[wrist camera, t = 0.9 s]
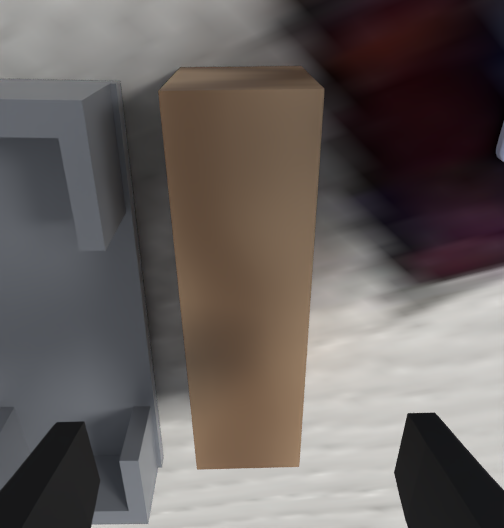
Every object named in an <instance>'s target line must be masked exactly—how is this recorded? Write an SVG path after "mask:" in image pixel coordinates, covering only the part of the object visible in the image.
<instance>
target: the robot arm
mask: <svg viewBox="0 0 504 528" xmlns="http://www.w3.org/2000/svg"><path fill="white" fill-rule="evenodd" d="M496 155H497V157H498V158H499V159H500V160H501V161H503V162H504V122H503V126H502V129H501V133H500V136H499V140H498V143H497V147H496ZM394 474H395V478H396V482H397V487H398V491H399V495H400V500H401V504H402V508H403V512H404V516H405V520H406V523H407V526H408V528H504V490H503V489H502V488H501V487H500V486H499V485H498V483H497V482H496V481H495V480H494V479H493V478H492V477H491V476H490V475H489V474H488V472H487V471H486V470H485V469H484V468H483V467H482V466H481V465H480V464H479V462H478V461H477V460H476V459H475V458H474V457H473V456H472V454H471V453H470V452H469V451H468V450H467V449H466V448H465V447H464V445H463V444H462V443H461V442H460V441H459V440H458V438H457V437H456V436H455V435H454V434H453V433H452V431H451V430H450V429H449V428H448V427H447V426H446V425H445V423H444V422H443V421H442V420H441V419H440V418H439V416H438V415H436V414H435V413H408V414H407V418H406V423H405V427H404V432H403V436H402V440H401V445H400V449H399V454H398V458H397V462H396V467H395V471H394ZM99 485H100V477H99V473H98V470H97V466H96V462H95V459H94V455H93V451H92V448H91V444H90V440H89V436H88V433H87V429H86V425H85V422H84V421H79V422H56V423H55V424H54V425H53V426H52V428H51V429H50V430H49V431H48V432H47V434H46V435H45V436H44V437H43V439H42V440H41V441H40V442H39V444H38V445H37V446H36V447H35V449H34V450H33V451H32V452H31V454H30V455H29V456H28V457H27V459H26V460H25V461H24V462H23V464H22V465H21V466H20V467H19V468H18V470H17V471H16V472H15V473H14V474H13V476H12V477H11V478H10V479H9V481H8V482H7V483H6V484H5V485H4V486H3V488H2V489H1V490H0V528H91V525H92V520H93V515H94V511H95V506H96V501H97V495H98V490H99Z"/></svg>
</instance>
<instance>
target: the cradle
mask: <svg viewBox="0 0 504 528" xmlns="http://www.w3.org/2000/svg"><path fill="white" fill-rule="evenodd" d="M79 421H84V422H85V425H86V429H87V433H88V436H89V440H90V444H91V448H92V451H93V455H94V459H95V462H96V466H97V470H98V473H99V477H100V485H99V490H98V495H97V501H96V506H95V511H94V515H93V520H92V524H148V522H149V517H150V511H151V505H152V499H153V494H154V488H155V482H156V477H157V471H158V467H162V464H163V458H164V457H163V449H162V440H161V431H160V423H159V414H158V405H157V396H156V388H155V379H154V370H153V362H152V353H151V344H150V336H149V327H148V318H147V310H146V301H145V292H144V284H143V275H142V266H141V257H140V249H139V240H138V231H137V223H136V214H135V205H134V197H133V188H132V179H131V171H130V162H129V153H128V144H127V136H126V127H125V118H124V110H123V101H122V92H121V84H120V81H100V80H41V79H0V490H1V489H2V488H3V486H4V485H5V484H6V483H7V482H8V481H9V479H10V478H11V477H12V476H13V474H14V473H15V472H16V471H17V470H18V468H19V467H20V466H21V465H22V464H23V462H24V461H25V460H26V459H27V457H28V456H29V455H30V454H31V452H32V451H33V450H34V449H35V447H36V446H37V445H38V444H39V442H40V441H41V440H42V439H43V437H44V436H45V435H46V434H47V432H48V431H49V430H50V429H51V428H52V426H53V425H54V424H55V423H56V422H79Z"/></svg>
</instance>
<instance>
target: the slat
mask: <svg viewBox="0 0 504 528" xmlns="http://www.w3.org/2000/svg"><path fill="white" fill-rule="evenodd" d="M158 95H159V104H160V114H161V124H162V134H163V143H164V153H165V163H166V172H167V182H168V192H169V202H170V211H171V221H172V231H173V240H174V250H175V260H176V270H177V279H178V289H179V299H180V308H181V318H182V328H183V338H184V347H185V357H186V367H187V376H188V386H189V396H190V406H191V415H192V425H193V435H194V444H195V454H196V464H197V469H233V468H271V467H299V462H300V447H301V432H302V417H303V402H304V387H305V373H306V358H307V343H308V328H309V313H310V298H311V283H312V268H313V253H314V238H315V223H316V208H317V193H318V179H319V164H320V149H321V134H322V119H323V104H324V88H323V87H322V86H321V85H320V84H319V83H318V82H317V81H316V80H315V79H314V78H313V77H312V76H311V75H310V74H309V73H308V72H307V71H306V70H305V69H304V68H303V67H302V66H256V67H180V68H179V69H178V70H177V71H176V73H175V74H174V75H173V76H172V77H171V78H170V79H169V80H168V81H167V82H166V83H165V84H164V85H163V86H162V87H161V88H160V89H159V90H158Z"/></svg>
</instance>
